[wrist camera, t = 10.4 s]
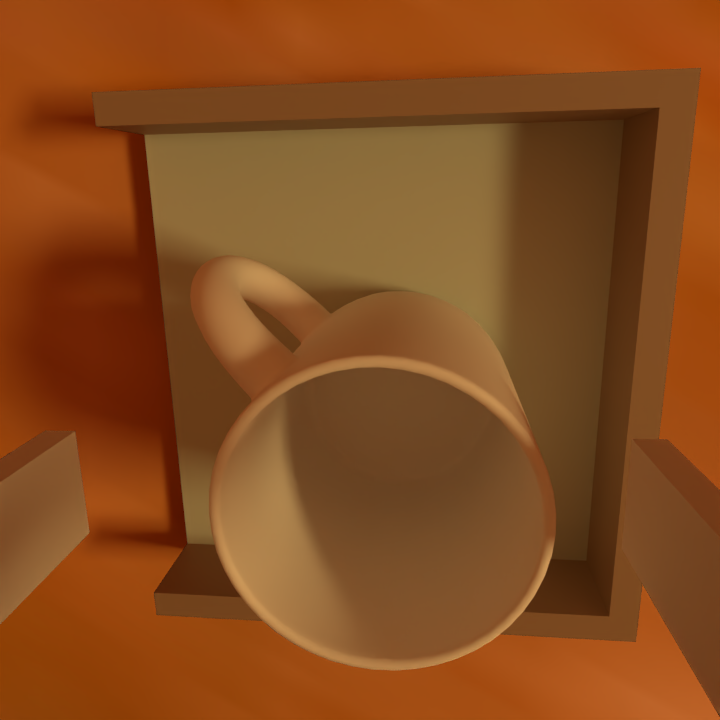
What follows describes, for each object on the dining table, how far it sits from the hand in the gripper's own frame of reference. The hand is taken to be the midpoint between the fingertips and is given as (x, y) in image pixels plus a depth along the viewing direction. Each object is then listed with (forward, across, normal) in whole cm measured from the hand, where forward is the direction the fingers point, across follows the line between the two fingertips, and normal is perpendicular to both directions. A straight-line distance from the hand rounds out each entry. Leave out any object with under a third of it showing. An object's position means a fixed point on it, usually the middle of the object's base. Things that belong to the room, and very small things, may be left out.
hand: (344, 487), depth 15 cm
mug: (+10, 0, +1) cm, 10 cm away
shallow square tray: (+11, +1, 0) cm, 11 cm away
